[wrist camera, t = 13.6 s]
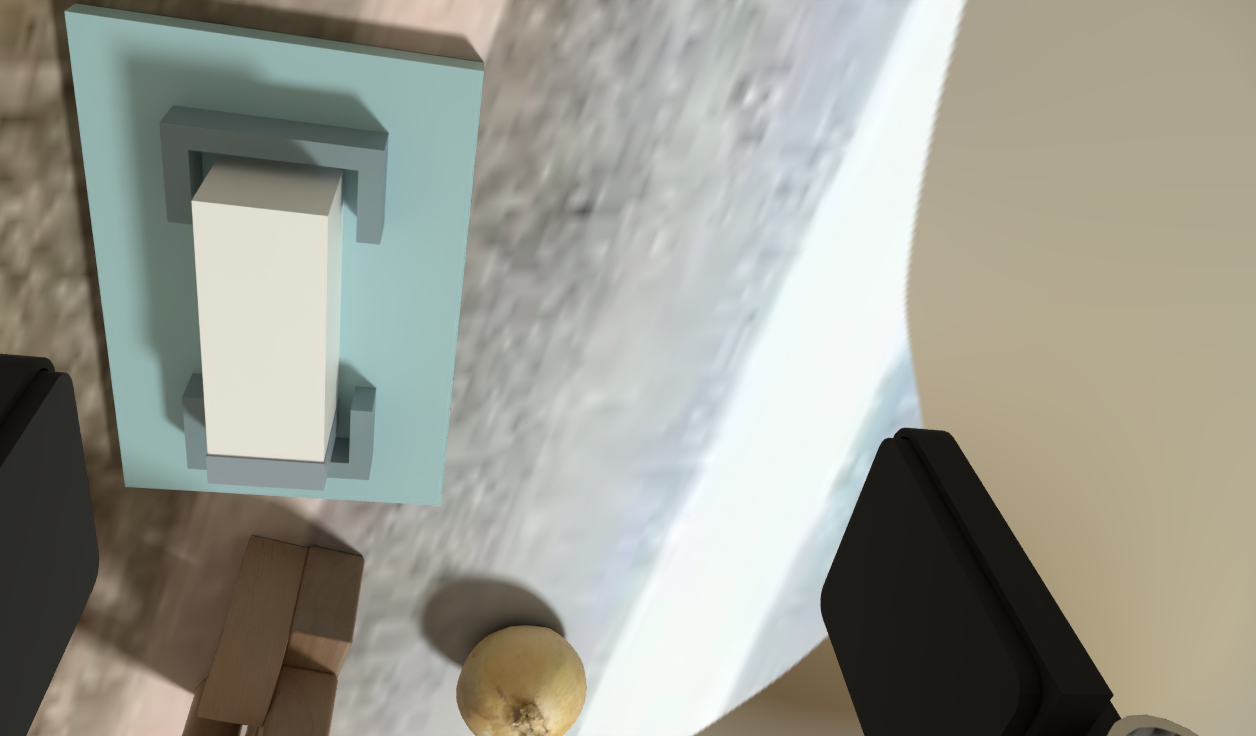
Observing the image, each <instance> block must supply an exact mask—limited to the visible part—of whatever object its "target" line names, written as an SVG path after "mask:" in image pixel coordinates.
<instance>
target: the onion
mask: <svg viewBox="0 0 1256 736" xmlns="http://www.w3.org/2000/svg"><path fill="white" fill-rule="evenodd" d="M586 689H587V686H586V677H585V671H584V667H583V664H582V661H581V659H580V657H579V656H578V654H577V652H576V651H575V650H574V649H573V647H572V646H571V645H570V644H569V643H568V642H567V641H566V640H565V639H564V638H563V637H562V636H561V635H559V634H558V633H557V632H555V631H553V630H552V629H550V628H547V627H538V626H531V625H524V626H510V627H508V628H505V629H502V630H499V631H497V632H494V633H491V634H490V635H489V636H486V637H485V638H484V639H483V640H481V641H480V642H479V643H478V644H477V645H476V646H475V648H474V649H473V650H472V651H471V652H470V654H469V656H468V657H467V659H466V662H465V664H464V666H463V668H462V671H461V674H460V676H459V680H458V684H457V689H456V690H457V691H456V695H457V696H456V698H457V704H458V708H459V710H460V713H461V716H462V718H463V719H464V721H465V723H466V725H467V726H468V727H469V729H470V730H471V731H472V732H473V734H474V735H475V736H562V735H563V734H565V733H566V732H567V731H568V730H569V729H570V728H571V726H572V725H573V724H574V723H575V721H576V720H577V718H578V716H579V715H580V712H581V710H582V708H583V705H584V702H585V697H586Z"/></svg>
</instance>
